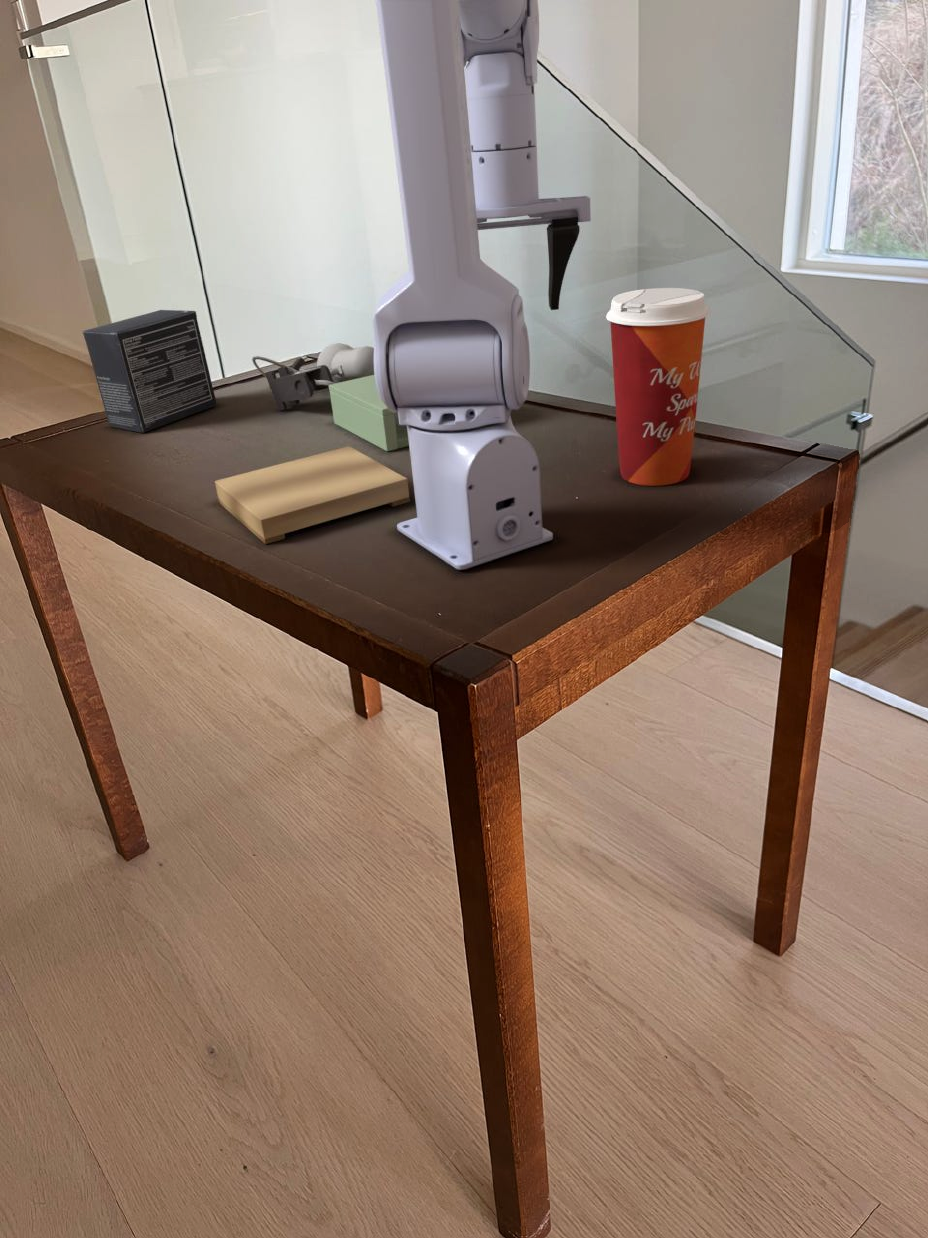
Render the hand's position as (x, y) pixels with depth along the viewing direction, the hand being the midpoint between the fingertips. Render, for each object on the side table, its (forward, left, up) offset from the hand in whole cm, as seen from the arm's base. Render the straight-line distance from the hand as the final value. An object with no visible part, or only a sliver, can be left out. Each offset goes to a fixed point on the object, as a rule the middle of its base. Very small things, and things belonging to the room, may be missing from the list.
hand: (512, 311), depth 88 cm
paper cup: (-20, 0, -11) cm, 23 cm away
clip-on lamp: (+25, +11, -11) cm, 29 cm away
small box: (+30, +27, -11) cm, 42 cm away
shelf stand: (+7, +8, -10) cm, 15 cm away
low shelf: (-6, +25, -10) cm, 27 cm away
